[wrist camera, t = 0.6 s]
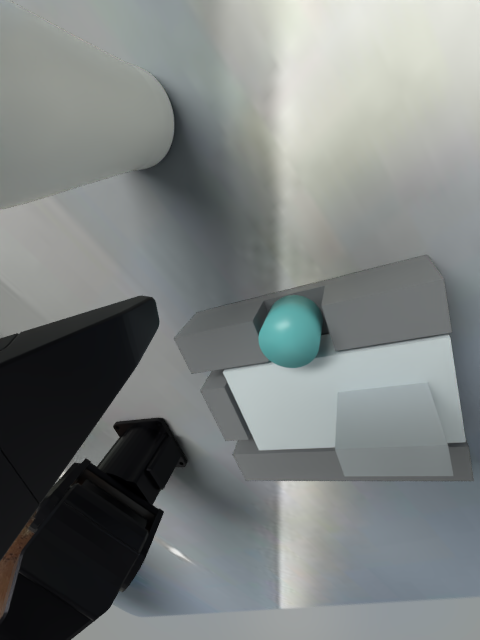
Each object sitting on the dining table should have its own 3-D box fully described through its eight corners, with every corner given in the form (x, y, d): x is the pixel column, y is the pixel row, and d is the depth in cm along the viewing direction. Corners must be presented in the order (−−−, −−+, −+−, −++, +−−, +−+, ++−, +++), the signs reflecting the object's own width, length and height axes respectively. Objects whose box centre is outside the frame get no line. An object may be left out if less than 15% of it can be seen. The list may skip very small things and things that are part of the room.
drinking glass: (209, 149, 20) (-43, 162, 7) (129, 198, 23) (-148, 269, 10) (151, 21, 17) (-363, -290, 5) (71, 94, 20) (-376, 17, 8)
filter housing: (257, 443, 30) (245, 480, 27) (196, 312, 25) (173, 338, 22) (456, 433, 24) (473, 481, 20) (427, 254, 19) (444, 279, 16)
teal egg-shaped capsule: (278, 346, 22) (269, 371, 19) (261, 301, 21) (250, 322, 18) (329, 337, 20) (326, 363, 18) (314, 289, 19) (309, 309, 17)
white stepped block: (266, 424, 27) (242, 505, 21) (234, 350, 25) (196, 419, 19) (453, 410, 22) (494, 515, 16) (438, 314, 19) (479, 394, 13)
